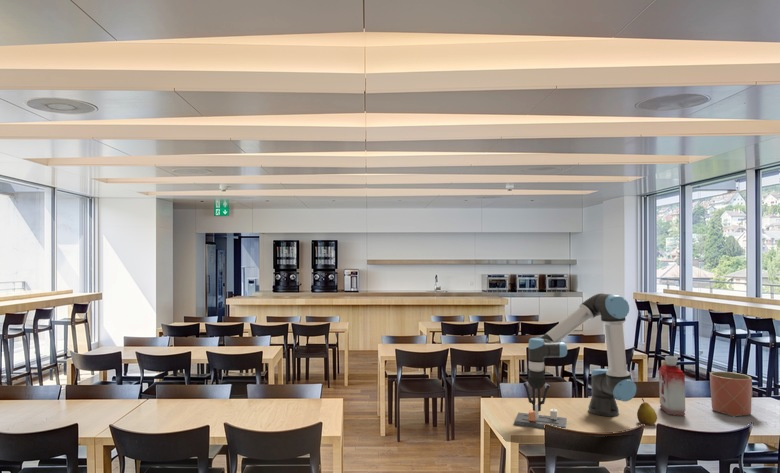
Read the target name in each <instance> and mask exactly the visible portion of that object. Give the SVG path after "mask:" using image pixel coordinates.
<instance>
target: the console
mask: <svg viewBox="0 0 780 473" xmlns="http://www.w3.org/2000/svg"><path fill="white" fill-rule="evenodd" d="M567 420H568V419H567V417H563V416H562V417H561V416H557V420H555V419H550V415H546V414H544V415H543V414H539V417H538V418H536V420H535V421H529V413H526V412H518V413H517V415H516V417H515V419H514V426H518V427H519V426H520V427H521V426H522V427H527V428H528V427H530V428H538V429H544V425H545V424H550V425H553V426H557V427H561V428H566V429H567V422H568V421H567Z"/></svg>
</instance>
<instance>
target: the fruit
mask: <svg viewBox="0 0 780 473" xmlns="http://www.w3.org/2000/svg"><path fill="white" fill-rule="evenodd" d="M641 400H642V401H643V402H641V404H640V405H639V407H638V409H637V413H636V418H637V420H638V422H639V423H640V424H642V423H644V424H643V425H648V426H653V425H655V424H656V423H657V421H658V415H657V412H656V410H655V408H653V407H652V405H651V404H649V402H645V399H644V398H643V397H642V398H641Z"/></svg>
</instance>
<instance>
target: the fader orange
mask: <svg viewBox="0 0 780 473" xmlns="http://www.w3.org/2000/svg"><path fill="white" fill-rule="evenodd" d="M528 414H529V421H535V420H536V418H535V411H533V410H529V411H528Z"/></svg>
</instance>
